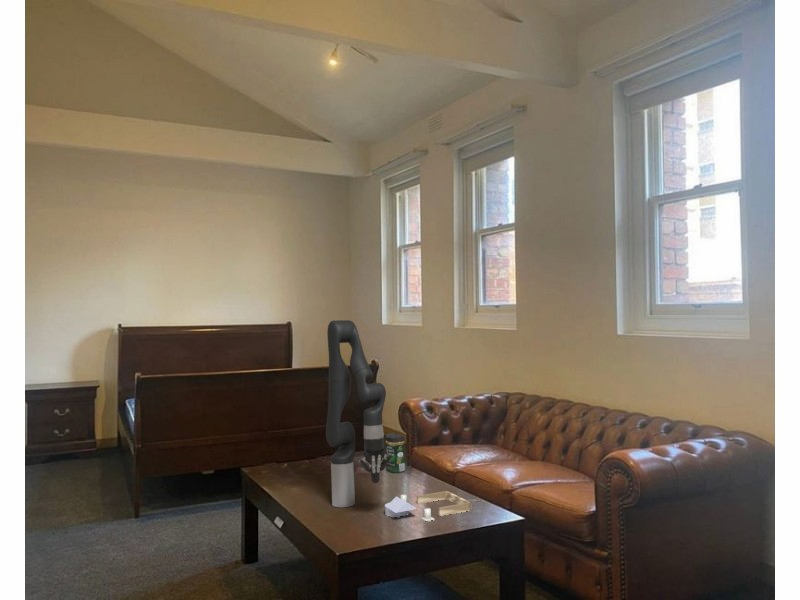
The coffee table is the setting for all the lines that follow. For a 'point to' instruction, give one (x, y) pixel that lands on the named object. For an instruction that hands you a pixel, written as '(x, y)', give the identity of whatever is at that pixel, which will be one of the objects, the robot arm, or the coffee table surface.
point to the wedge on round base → (397, 508)
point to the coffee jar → (395, 453)
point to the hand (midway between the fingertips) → (375, 482)
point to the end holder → (453, 509)
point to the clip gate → (426, 510)
